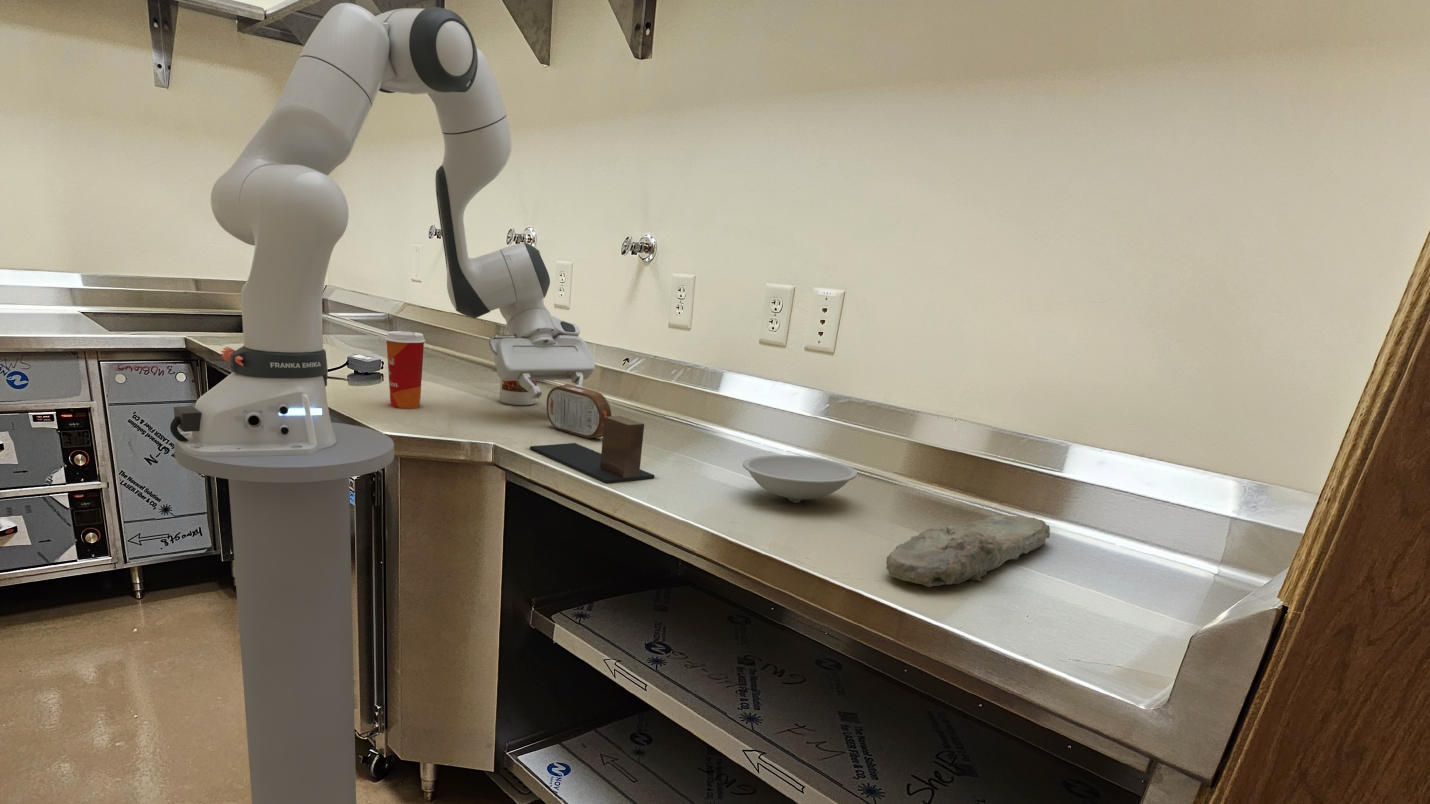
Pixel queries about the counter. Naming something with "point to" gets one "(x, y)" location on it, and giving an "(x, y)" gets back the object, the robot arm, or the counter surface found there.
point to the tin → (577, 410)
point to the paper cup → (405, 368)
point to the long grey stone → (965, 550)
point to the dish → (798, 475)
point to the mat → (583, 461)
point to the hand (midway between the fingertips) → (558, 395)
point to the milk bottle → (515, 392)
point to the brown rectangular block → (622, 446)
